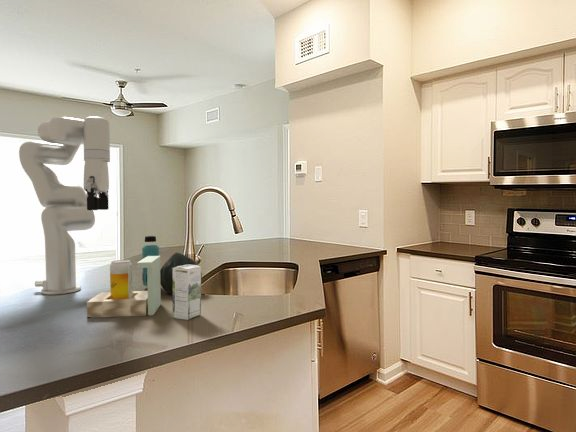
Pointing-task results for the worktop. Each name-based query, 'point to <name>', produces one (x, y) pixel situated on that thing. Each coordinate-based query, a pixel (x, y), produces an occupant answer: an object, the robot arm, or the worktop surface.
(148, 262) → the mint green slab
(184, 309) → the syrup box
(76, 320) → the worktop surface
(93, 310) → the socket
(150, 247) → the beverage bottle
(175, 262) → the squash
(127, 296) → the beer can
